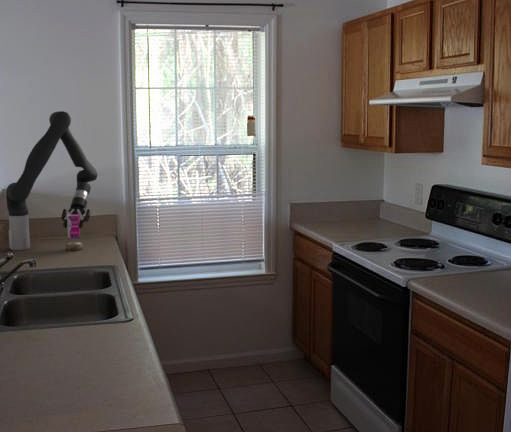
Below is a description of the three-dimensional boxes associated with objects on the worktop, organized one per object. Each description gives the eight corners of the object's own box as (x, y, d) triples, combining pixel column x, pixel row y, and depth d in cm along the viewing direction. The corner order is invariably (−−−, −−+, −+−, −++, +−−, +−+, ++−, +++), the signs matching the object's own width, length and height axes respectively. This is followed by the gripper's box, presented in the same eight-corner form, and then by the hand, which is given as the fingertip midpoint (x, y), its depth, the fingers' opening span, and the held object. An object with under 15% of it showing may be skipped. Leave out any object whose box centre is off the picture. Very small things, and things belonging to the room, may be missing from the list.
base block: (69, 251, 334) (68, 245, 333) (63, 249, 340) (63, 243, 340) (84, 250, 338) (84, 244, 338) (79, 247, 345) (79, 241, 344)
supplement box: (67, 239, 335) (66, 216, 333) (68, 236, 341) (67, 214, 339) (79, 238, 336) (78, 215, 334) (80, 236, 342) (79, 213, 340)
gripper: (64, 196, 343) (56, 222, 334) (91, 196, 342) (84, 223, 332) (68, 204, 350) (61, 231, 340) (95, 205, 348) (88, 231, 338)
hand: (72, 227), depth 336 cm, fingers closed on supplement box, 7 cm apart
